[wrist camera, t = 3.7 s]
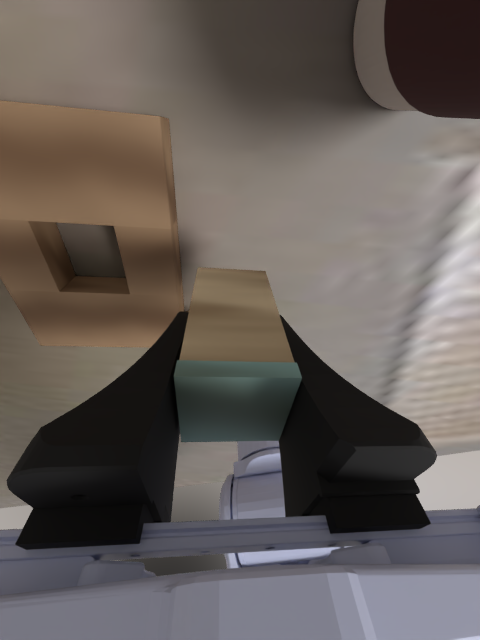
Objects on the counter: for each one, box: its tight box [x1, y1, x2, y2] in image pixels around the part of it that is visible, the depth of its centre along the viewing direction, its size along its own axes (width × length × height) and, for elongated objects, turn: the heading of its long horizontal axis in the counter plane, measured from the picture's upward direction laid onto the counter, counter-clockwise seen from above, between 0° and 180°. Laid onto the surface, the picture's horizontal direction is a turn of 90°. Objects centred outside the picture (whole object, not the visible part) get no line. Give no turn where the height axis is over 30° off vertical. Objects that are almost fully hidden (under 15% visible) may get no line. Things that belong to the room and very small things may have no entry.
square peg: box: [174, 267, 302, 442], centre depth 11 cm, size 4×4×7 cm
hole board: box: [0, 101, 185, 347], centre depth 17 cm, size 16×12×2 cm
